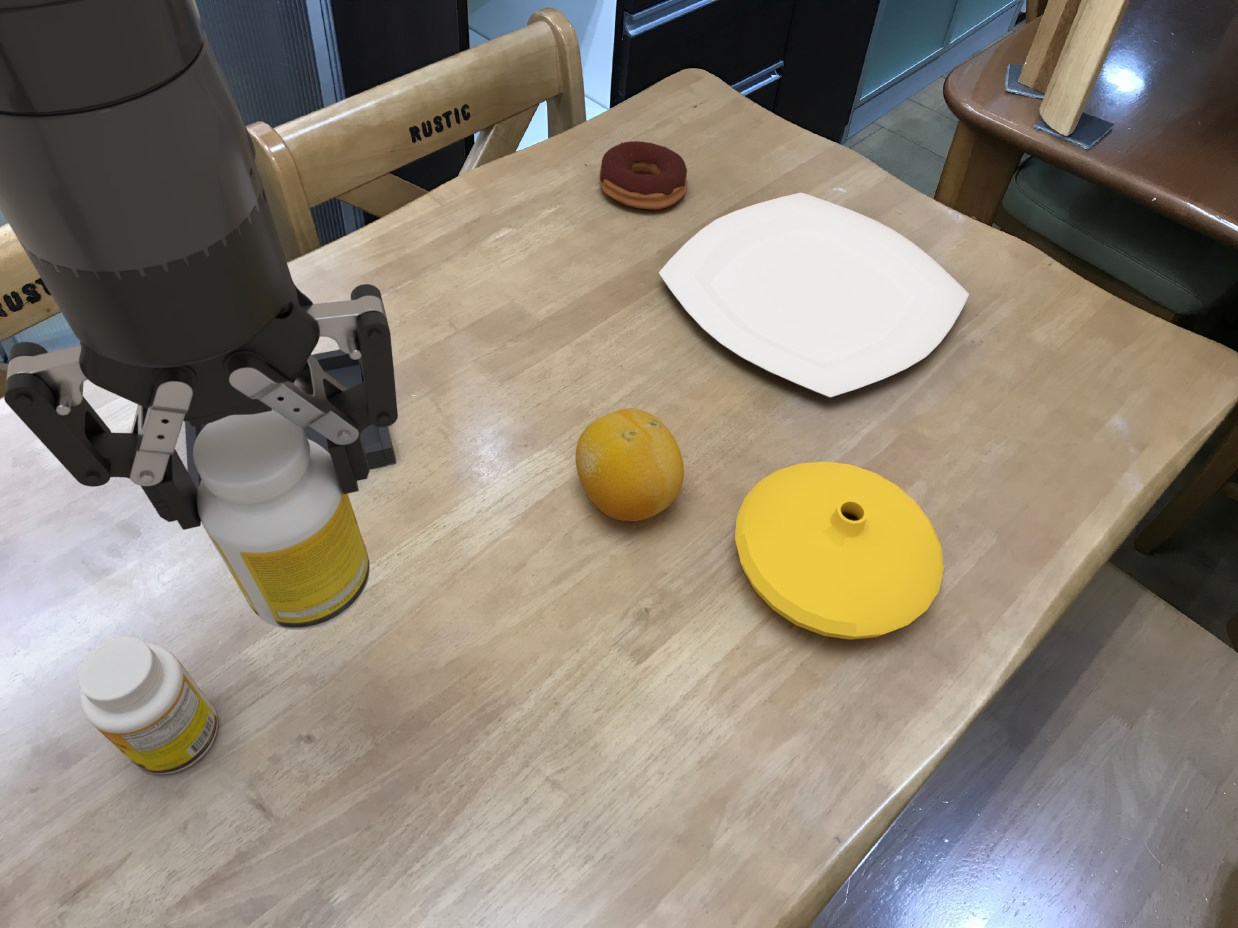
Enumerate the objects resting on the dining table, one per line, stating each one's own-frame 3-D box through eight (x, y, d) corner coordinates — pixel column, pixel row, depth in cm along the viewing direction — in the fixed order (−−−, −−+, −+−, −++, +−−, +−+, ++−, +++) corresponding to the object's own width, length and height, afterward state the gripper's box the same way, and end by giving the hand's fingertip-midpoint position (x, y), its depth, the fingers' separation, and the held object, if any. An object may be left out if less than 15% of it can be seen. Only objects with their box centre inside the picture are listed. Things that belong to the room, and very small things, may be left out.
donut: (704, 193, 100) (709, 162, 96) (642, 227, 95) (644, 195, 92) (642, 154, 104) (645, 123, 101) (579, 185, 99) (580, 153, 96)
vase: (811, 453, 76) (830, 397, 71) (970, 568, 70) (1004, 516, 64) (687, 558, 69) (698, 505, 63) (851, 698, 62) (879, 652, 57)
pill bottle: (396, 582, 48) (356, 445, 39) (292, 659, 45) (221, 530, 36) (326, 511, 50) (273, 367, 41) (223, 579, 47) (141, 440, 38)
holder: (197, 508, 70) (188, 492, 68) (190, 396, 77) (182, 379, 75) (396, 463, 73) (392, 447, 72) (371, 360, 81) (367, 343, 79)
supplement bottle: (127, 713, 59) (59, 641, 51) (214, 684, 61) (161, 610, 53) (134, 791, 56) (63, 728, 48) (226, 758, 57) (172, 692, 50)
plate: (621, 285, 89) (622, 269, 87) (795, 188, 101) (799, 173, 100) (828, 441, 77) (834, 426, 76) (997, 310, 89) (1005, 295, 88)
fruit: (699, 500, 72) (712, 437, 66) (629, 556, 69) (636, 494, 63) (623, 439, 76) (629, 374, 70) (553, 489, 72) (552, 425, 66)
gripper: (-140, 304, 25) (105, 602, 38) (380, 223, 28) (441, 523, 41) (-98, 156, 29) (109, 469, 42) (348, 100, 32) (412, 407, 45)
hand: (272, 495), depth 41 cm, fingers closed on pill bottle, 6 cm apart
